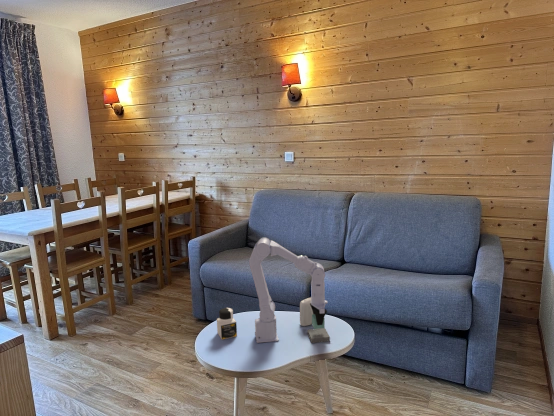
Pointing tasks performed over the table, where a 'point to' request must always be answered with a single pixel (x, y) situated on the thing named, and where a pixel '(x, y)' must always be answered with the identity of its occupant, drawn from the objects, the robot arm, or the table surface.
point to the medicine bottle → (226, 324)
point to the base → (318, 335)
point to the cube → (316, 323)
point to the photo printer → (306, 312)
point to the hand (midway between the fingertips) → (318, 322)
